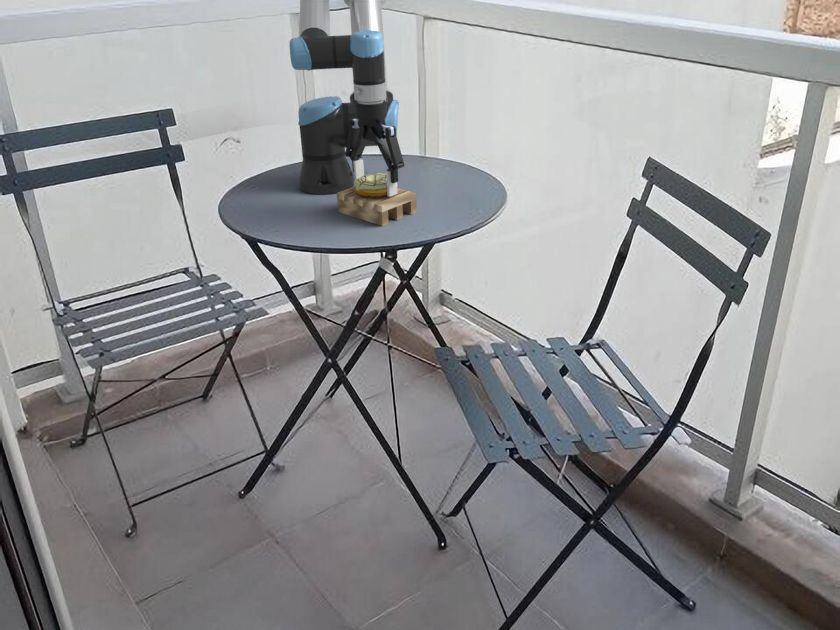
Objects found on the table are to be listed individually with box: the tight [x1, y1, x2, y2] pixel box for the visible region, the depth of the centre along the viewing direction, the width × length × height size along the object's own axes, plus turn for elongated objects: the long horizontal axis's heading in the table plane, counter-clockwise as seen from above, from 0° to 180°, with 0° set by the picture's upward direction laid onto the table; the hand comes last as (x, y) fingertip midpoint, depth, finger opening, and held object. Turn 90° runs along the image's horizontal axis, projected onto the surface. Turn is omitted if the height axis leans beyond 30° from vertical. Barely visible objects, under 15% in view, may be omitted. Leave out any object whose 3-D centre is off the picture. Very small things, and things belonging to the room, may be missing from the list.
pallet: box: [336, 186, 418, 227], centre depth 203 cm, size 16×12×5 cm
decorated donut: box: [353, 172, 399, 197], centre depth 201 cm, size 10×11×4 cm
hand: (376, 190), depth 202 cm, fingers closed on decorated donut, 11 cm apart
